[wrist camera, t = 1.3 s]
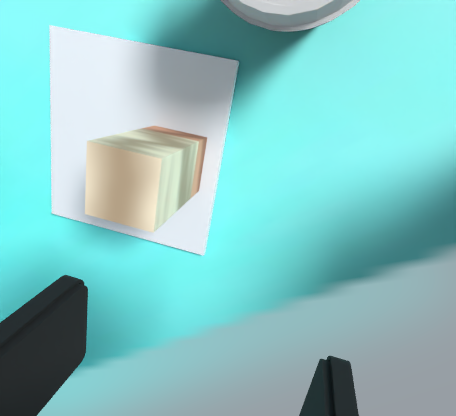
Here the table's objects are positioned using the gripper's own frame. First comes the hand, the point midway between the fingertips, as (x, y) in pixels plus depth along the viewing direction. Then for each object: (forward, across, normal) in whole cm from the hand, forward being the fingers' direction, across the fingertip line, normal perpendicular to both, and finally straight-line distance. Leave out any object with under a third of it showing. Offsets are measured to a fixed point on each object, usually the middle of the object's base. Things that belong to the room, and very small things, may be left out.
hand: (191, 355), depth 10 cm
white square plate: (+22, +13, 0) cm, 25 cm away
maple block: (+21, +9, 0) cm, 23 cm away
